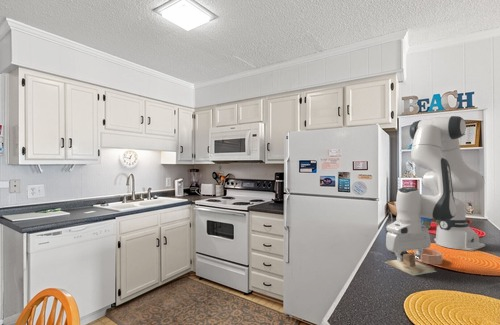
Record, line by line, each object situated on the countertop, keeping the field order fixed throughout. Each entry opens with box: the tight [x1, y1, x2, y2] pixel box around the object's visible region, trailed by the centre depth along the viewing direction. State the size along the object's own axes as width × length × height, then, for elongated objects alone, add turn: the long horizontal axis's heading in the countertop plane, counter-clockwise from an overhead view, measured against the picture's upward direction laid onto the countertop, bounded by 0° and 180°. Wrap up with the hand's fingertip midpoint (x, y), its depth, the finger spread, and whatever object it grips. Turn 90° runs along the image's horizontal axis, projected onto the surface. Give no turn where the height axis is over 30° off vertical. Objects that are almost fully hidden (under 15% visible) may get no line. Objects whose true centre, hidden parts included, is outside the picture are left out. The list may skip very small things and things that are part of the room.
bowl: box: [413, 248, 443, 266], centre depth 113 cm, size 10×10×4 cm
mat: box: [384, 261, 438, 276], centre depth 106 cm, size 12×14×1 cm
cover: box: [385, 253, 435, 275], centre depth 106 cm, size 12×12×5 cm
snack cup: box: [420, 217, 439, 230], centre depth 169 cm, size 16×10×10 cm
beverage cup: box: [385, 211, 396, 255], centre depth 123 cm, size 7×7×20 cm
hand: (409, 260), depth 106 cm, fingers open, 8 cm apart
